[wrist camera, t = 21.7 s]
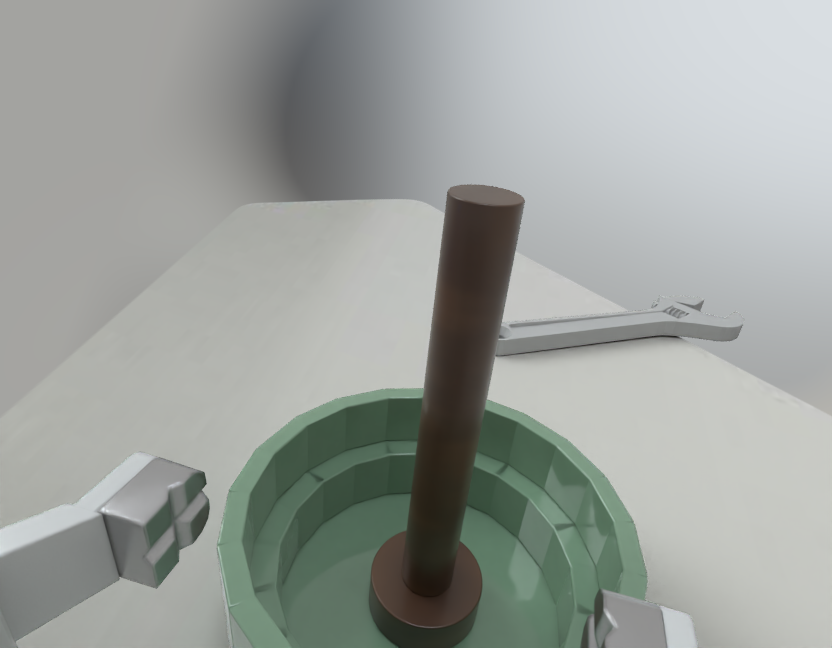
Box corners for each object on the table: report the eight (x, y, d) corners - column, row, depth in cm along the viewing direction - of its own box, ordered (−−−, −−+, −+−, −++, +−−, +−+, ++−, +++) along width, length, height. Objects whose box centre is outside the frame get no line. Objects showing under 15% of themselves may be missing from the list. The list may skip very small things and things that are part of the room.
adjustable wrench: (485, 359, 40) (489, 339, 39) (458, 319, 46) (461, 301, 45) (750, 341, 47) (758, 323, 46) (699, 308, 52) (705, 292, 51)
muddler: (355, 639, 20) (384, 204, 12) (382, 543, 24) (417, 166, 16) (472, 666, 19) (581, 232, 11) (480, 564, 23) (566, 186, 15)
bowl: (147, 775, 16) (112, 665, 14) (310, 457, 29) (310, 365, 26) (631, 908, 15) (706, 815, 12) (579, 510, 28) (610, 419, 25)
